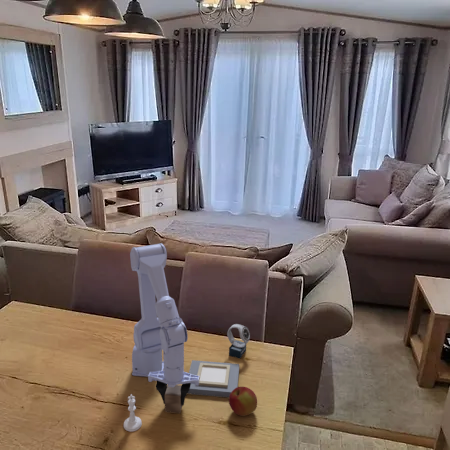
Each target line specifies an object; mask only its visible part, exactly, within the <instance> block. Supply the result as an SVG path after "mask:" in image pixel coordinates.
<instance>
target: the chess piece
mask: <svg viewBox="0 0 450 450" xmlns="http://www.w3.org/2000/svg"><path fill="white" fill-rule="evenodd" d="M127 403H128V405H129V406H128V408H127V410H128V411H129V417H127V418H126V419H125V420H124V422H123V429H124V430H126V431H128V432H136V431H138V430H139V429H141V427H142V425H143V424H142V423H143V422H142V419H141V418H140V417H139V416H136V415H135V414H136V413H135V410H136V409H137V406H136V405H135V404H136V396H134V395H133V394H132V393H131V394H130V396H128V397H127Z"/></svg>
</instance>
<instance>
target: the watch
mask: <svg viewBox="0 0 450 450" xmlns="http://www.w3.org/2000/svg"><path fill="white" fill-rule="evenodd" d="M232 329H238V330H237V331H238V332H239V337H240V339H241V340H236V339H235V337H234V336H233V333H232ZM226 335H227V338H228V341H229V343H230V344H231V345H230V346H229V348H228V356H230V357H233V358H237V359H239V360H240V359H241V358H242V357H243V356H244V354H245V353H246V351H247V345H248V343H249V341H250V339H251V333H250V330H249V328H248V327H247V326H244V325H242V324H241V323H240V324H239V323H235V324H232V325H231V326H230V327H229V328H228V330H227V333H226Z"/></svg>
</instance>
